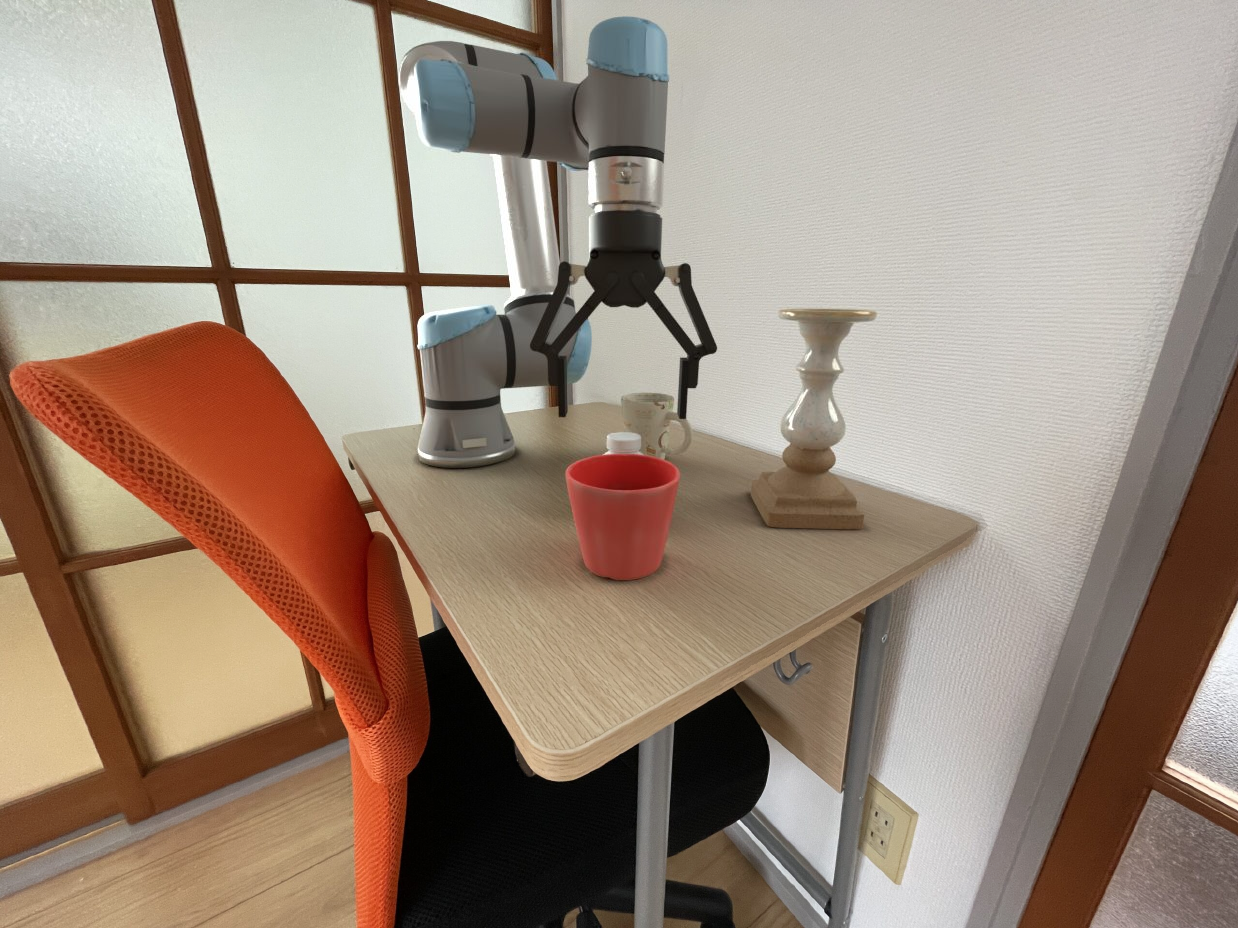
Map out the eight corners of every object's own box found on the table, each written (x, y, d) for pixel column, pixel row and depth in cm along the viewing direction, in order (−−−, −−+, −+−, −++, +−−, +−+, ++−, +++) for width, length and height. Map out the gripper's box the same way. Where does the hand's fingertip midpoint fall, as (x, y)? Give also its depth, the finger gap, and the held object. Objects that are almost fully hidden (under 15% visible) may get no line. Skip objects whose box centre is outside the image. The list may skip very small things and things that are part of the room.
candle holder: (767, 527, 60) (789, 311, 53) (749, 493, 71) (765, 308, 63) (864, 529, 60) (900, 312, 53) (831, 494, 70) (858, 308, 63)
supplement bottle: (654, 515, 64) (657, 436, 61) (620, 527, 60) (621, 444, 57) (625, 502, 68) (626, 427, 65) (591, 512, 64) (590, 435, 61)
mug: (639, 448, 91) (640, 390, 88) (704, 461, 84) (708, 399, 81) (610, 459, 85) (610, 398, 82) (678, 475, 78) (681, 408, 75)
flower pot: (597, 602, 46) (596, 498, 43) (552, 549, 55) (549, 461, 52) (697, 574, 50) (703, 478, 47) (640, 530, 60) (642, 447, 57)
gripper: (494, 205, 50) (507, 421, 57) (757, 209, 50) (737, 425, 57) (510, 215, 57) (520, 406, 64) (740, 218, 57) (724, 409, 64)
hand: (622, 415), depth 61 cm, fingers open, 13 cm apart
